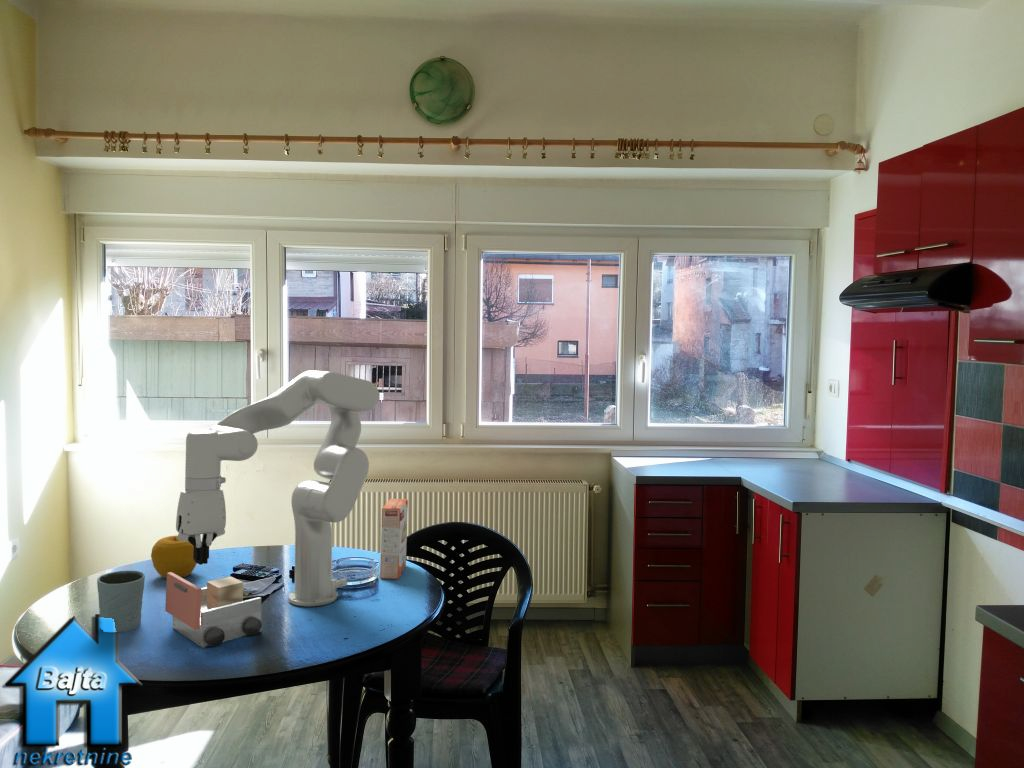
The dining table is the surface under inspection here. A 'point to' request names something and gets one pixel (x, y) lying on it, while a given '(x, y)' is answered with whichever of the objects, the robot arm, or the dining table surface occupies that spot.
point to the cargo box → (224, 592)
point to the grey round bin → (121, 598)
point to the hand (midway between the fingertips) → (201, 562)
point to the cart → (223, 622)
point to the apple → (173, 557)
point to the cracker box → (393, 538)
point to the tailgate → (183, 600)
